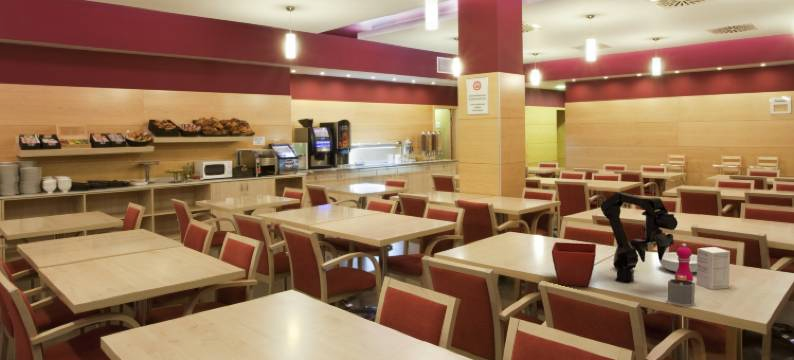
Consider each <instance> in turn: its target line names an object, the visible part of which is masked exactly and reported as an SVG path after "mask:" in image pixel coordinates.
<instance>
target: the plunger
mask: <svg viewBox="0 0 794 360" xmlns="http://www.w3.org/2000/svg"><path fill="white" fill-rule="evenodd" d="M686 279H687V276H685V275H677V282H680V285H683V282H686Z"/></svg>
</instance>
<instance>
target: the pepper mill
mask: <svg viewBox="0 0 794 360" xmlns="http://www.w3.org/2000/svg"><path fill="white" fill-rule="evenodd" d="M676 253H677V255H678V261H679V267H678V269H677V271H676V272H675V274H674V279H677V275H685V276H687V279H686V280H689V281H691V282H694V276H693V272H692V273H691V271H690V268H689V262H690V258H689V257H690V256H691V255H692V250H691V248H689V247H687V244H686V243H682V244H681V246H680V247H678V248H677V249H676Z"/></svg>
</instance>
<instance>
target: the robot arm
mask: <svg viewBox="0 0 794 360" xmlns="http://www.w3.org/2000/svg"><path fill="white" fill-rule="evenodd" d="M624 203H626V204H628V205H633V206H638V207H639V208H640V209H641V210H643V212H641V216H645V227H643V229H642V230H643V231H645V232H644V233H645V235H644V236H643V237H642V239H641V238H635V239H631V241H630V242H629V240H628V237H627V234H626V232H625V230H624V226H623V222H622V221H621V217H620V216H621V211H622V210H621V207H622V206H623V205H624ZM600 210H601V212H602V214H603V216H604V217H605V218H606V219H608V221H609V224H610V227H611V230H612V233H613V236H614V239H615V242H616V245H617V246H618V253H617V256H618V259H617V260H616V261H615V262H613V268H615V269H616V278H615V281H616V282H621V283H626V284H629V283H631V282H633V281H634V280H635V279H634V278H635V277H634V276H635V272H634V270H633V269H634V268H636V267H637V264H638V262H639V258H640V260H641V262H642V263H645V261H646V251H647V250H648V245H654V244H656V249H657V257H658V261H659V260H662V258H663V255H664V253H666V250H667V249H668V248H670V247H672V246H673V245H674V243H675V242H674V241H675V240H674V235H673V234H672V233H663V229H664V230H670V231H674V230H676V228H677V227H678V220H677V218H676V217H675V214H674V213H669V211H668V209H667V208H666V206H665V204H664V203H663V200H662V198H660V197H644V196H643V197H642V196H639V195H634V194H631V193H626V192H624V191H622V192H616V193H614V194H613V195H612V196H610V197H608V198H607V199H605V200H603V201H602V202H601V203H600ZM628 242H629V243H630V244H631V246H632V248H633V249H632V248H631V247H630V246H629V243H628Z"/></svg>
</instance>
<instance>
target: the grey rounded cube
mask: <svg viewBox="0 0 794 360" xmlns="http://www.w3.org/2000/svg"><path fill="white" fill-rule="evenodd" d="M695 284H696V283H695V282H694V281H692V282H691V281H689V280H686V282H683V285H680V282H677V279H675V278H671V279H669V280H668V281H667V303H669V304H671V305H673V306H677V307H678V306H680V307H692V306H694V305H695V294H696V291H695V289H696V287H695Z"/></svg>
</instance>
